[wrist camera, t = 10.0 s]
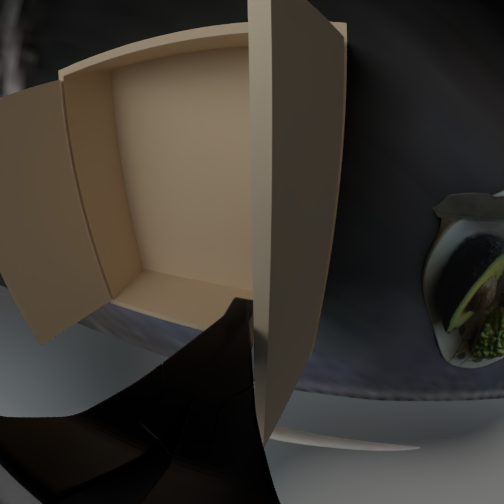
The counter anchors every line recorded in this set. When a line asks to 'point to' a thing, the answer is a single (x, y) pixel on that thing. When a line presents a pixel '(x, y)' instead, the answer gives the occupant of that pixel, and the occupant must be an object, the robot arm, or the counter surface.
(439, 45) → the counter surface
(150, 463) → the robot arm
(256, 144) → the near flap
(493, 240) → the salad plate
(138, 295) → the carton
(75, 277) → the far flap
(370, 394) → the counter surface
